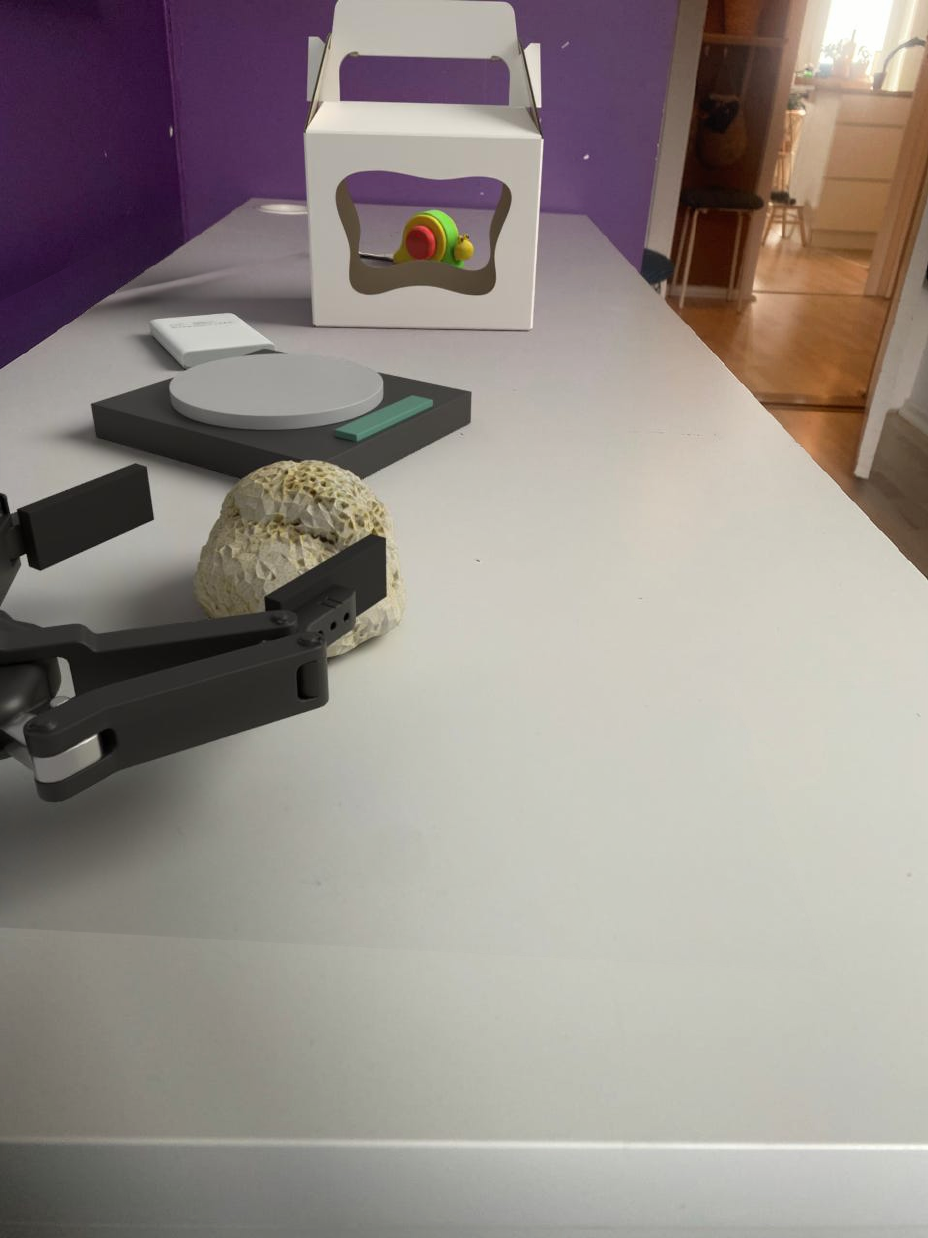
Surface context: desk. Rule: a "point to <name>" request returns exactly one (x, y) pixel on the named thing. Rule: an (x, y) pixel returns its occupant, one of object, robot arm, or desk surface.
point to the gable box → (423, 167)
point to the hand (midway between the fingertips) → (254, 525)
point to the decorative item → (294, 541)
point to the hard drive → (207, 338)
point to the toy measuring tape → (431, 241)
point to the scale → (283, 414)
